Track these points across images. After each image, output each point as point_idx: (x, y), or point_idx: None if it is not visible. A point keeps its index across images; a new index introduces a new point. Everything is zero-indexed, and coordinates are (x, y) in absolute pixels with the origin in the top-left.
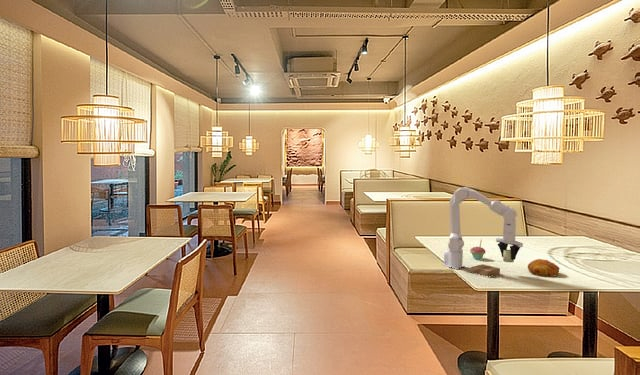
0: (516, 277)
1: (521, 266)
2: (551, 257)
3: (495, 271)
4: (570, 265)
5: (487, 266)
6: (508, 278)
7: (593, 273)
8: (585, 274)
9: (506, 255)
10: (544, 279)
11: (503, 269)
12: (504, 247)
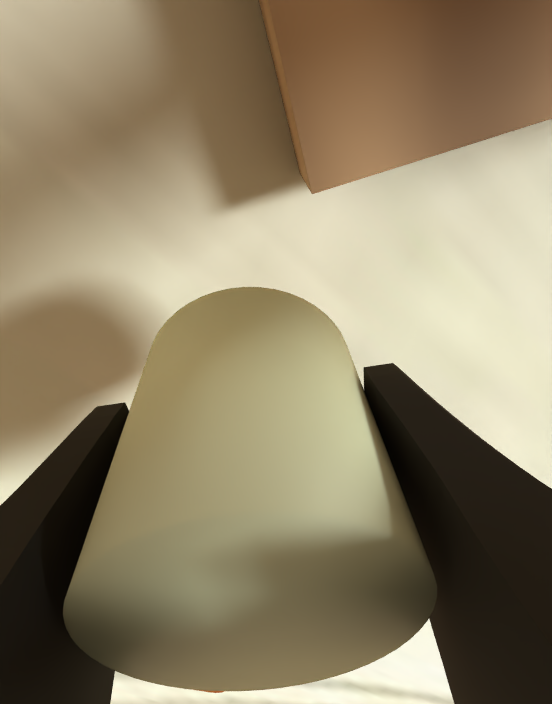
0: (97, 272)
1: None
2: (448, 700)
3: (269, 25)
4: (292, 694)
5: (524, 31)
6: (55, 119)
7: (128, 697)
8: (115, 674)
9: (186, 398)
10: (2, 467)
11: (431, 361)
12: (487, 697)
